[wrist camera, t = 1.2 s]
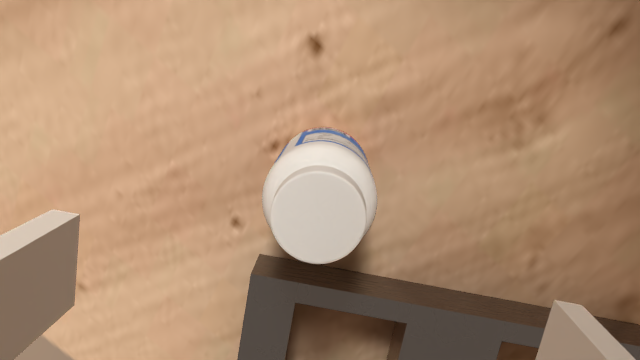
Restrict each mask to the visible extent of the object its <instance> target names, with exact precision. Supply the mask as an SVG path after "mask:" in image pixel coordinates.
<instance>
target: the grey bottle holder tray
mask: <svg viewBox="0 0 640 360" xmlns="http://www.w3.org/2000/svg"><path fill="white" fill-rule="evenodd" d="M295 303H300V304H305V305H311V306H316V307H321V308H327V309H332V310H337V311H343V312H348V313H353V314H359V315H364V316H369V317H375V318H380V319H386V320H391V321H396V323H395V327H394V331H393V335H392V339H391V344H390V348H389V352H388V356H387V360H496V359H497V356H498V352H499V349H500V345H501V342H502V341H503V342H509V343H514V344H520V345H525V346H530V347H536V348H539V346H540V343H541V340H542V337H543V334H544V330H545V327H546V324H547V321H548V318H549V314H550V311H551V308H546V307H541V306H536V305H530V304H525V303H520V302H514V301H509V300H503V299H498V298H493V297H487V296H482V295H477V294H471V293H466V292H461V291H455V290H450V289H444V288H439V287H434V286H428V285H423V284H418V283H412V282H407V281H402V280H396V279H391V278H385V277H380V276H375V275H369V274H364V273H359V272H353V271H348V270H343V269H337V268H332V267H326V266H321V265H316V264H310V263H305V262H300V261H294V260H289V259H283V258H278V257H273V256H267V255H262V254H259V257H258V259H257V261H256V264H255V266H254V268H253V271H252V273H251V277H250V284H249V290H248V296H247V302H246V309H245V315H244V321H243V328H242V334H241V340H240V347H239V353H238V359H237V360H285V357H286V352H287V346H288V341H289V335H290V330H291V324H292V319H293V314H294V308H295ZM593 317H594V318H595V319H596V320H597V321H598V322H599V323H600V324H601V325H602V326H603V327H604V328H605V329H606V330H607V331H608V332H609V333H610V334H611V335H612V336H613V337H614V338H615V339H616V340H617V341H618V342H619V343H620V344H621V345H622V346H623V347H624V348H625V349H626V350H627V351H628V352H629V353H630V354H631V355H632V356H633V357H634V358H635V359H636V360H640V326H639V325H638V324H632V323H627V322H622V321H616V320H611V319H605V318H600V317H595V316H593Z"/></svg>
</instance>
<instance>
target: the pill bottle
mask: <svg viewBox="0 0 640 360" xmlns="http://www.w3.org/2000/svg"><path fill="white" fill-rule="evenodd" d="M262 206H263V212H264V215H265V218H266V221H267V223H268V225H269V227H270V228H271V230H272V232H273V235H274V237H275V239H276V241H277V242H278V244H279V245H280V246H281V247H282V248H283V249H284V250H285V251H286V252H287V253H288V254H289V255H291V256H293V257H294V258H296V259H298V260H301V261H303V262H307V263H311V264H326V263H331V262H334V261H337V260H339V259H341V258H343V257H345V256H347V255H348V254H349V253H350V252H351V251H352V250H354V248H355V247H356V246H357V245H358V244H359V242H360V240H361V239H362V237H363V236H364V235H365V234H366V233H367V231H368V230H369V228H370V226H371V224H372V222H373V220H374V217H375V214H376V209H377V190H376V186H375V182H374V178H373V175H372V173H371V170H370V167H369V164H368V161H367V158H366V156H365V154H364V152H363V150H362V148H361V147H360V145H359V144H358V143H357V142H356V141H355V140H354V139H353V138H352V137H351V136H350V135H348V134H347V133H345V132H343V131H340V130H338V129H334V128H329V127H318V128H312V129H308V130H306V131H303V132H301V133H300V134H298V135H296V136H295V137H294V138H293V139H292V140H290V142H289V143H288V144H287V145H286V146H285V147H284V149H283V150H282V152H281V154H280V155H279V157H278V159H277V160H276V162H275V163H274V165H273V166H272V168H271V170H270V171H269V173H268V175H267V177H266V180H265V183H264V187H263V192H262Z"/></svg>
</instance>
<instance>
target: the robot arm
mask: <svg viewBox="0 0 640 360" xmlns="http://www.w3.org/2000/svg"><path fill="white" fill-rule="evenodd" d="M79 222H80V214H76V213H71V212H65V211H59V210H54V209H52V210H50V211H48V212H46V213H44V214H42V215H40V216H38V217H36V218H34V219H32V220H30V221H28V222H26V223H24V224H22V225H20V226H18V227H16V228H14V229H12V230H10V231H8V232H6V233H4V234H2V235H0V360H14V359H15V358H16V357H17V356H18V355H19V354H20V353H21V352H23V351H24V350H25V349H26V348H27V347H28V346H29V345H30V344H32V342H34V341H35V340H36V339H37V338H38V337H39V336H40V335H42V334H43V333H44V332H45V331H46V330H47V329H48V328H49V327H50V326H51V325H53V324H54V323H55V322H56V321H57V320H58V319H59V318H60V317H61V316H63V315H64V314H65V313H66V312H67V311H68V310H69V309H70V308H71V307H73V306H74V302H75V286H76V270H77V254H78V238H79ZM535 360H636V359H635V358H634V357H633V356H632V355H631V354H630V353H629V352H628V351H627V350H626V349H625V348H624V347H623V346H622V345H621V344H620V343H619V342H618V341H617V340H616V339H615V338H614V337H613V336H612V335H611V334H610V333H609V332H608V331H607V330H606V329H605V328H604V327H603V326H602V325H601V324H600V323H599V322H598V321H597V320H596V319H595V318H594V317H593V316H592V315H591V314H590V313H589V312H588V311H587V310H586V309H585V308H584V307H583V306H582V305H580V304H574V303H569V302H563V301H558V300H554V302H553V305H552V308H551V311H550V314H549V318H548V321H547V324H546V327H545V330H544V334H543V337H542V340H541V343H540V346H539V350H538V353H537V356H536V359H535Z"/></svg>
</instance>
